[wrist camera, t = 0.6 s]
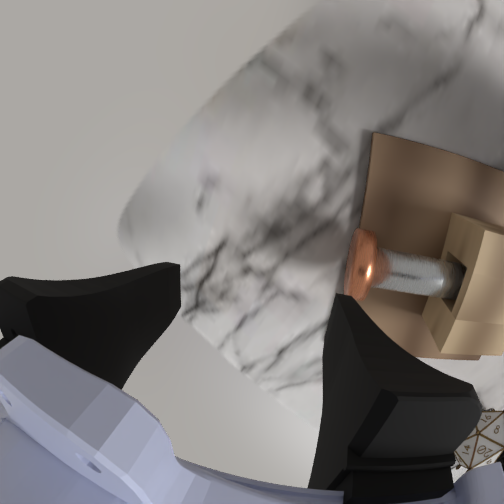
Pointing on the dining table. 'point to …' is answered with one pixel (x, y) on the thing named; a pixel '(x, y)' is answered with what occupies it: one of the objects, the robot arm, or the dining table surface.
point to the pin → (398, 271)
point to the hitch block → (438, 246)
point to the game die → (483, 442)
